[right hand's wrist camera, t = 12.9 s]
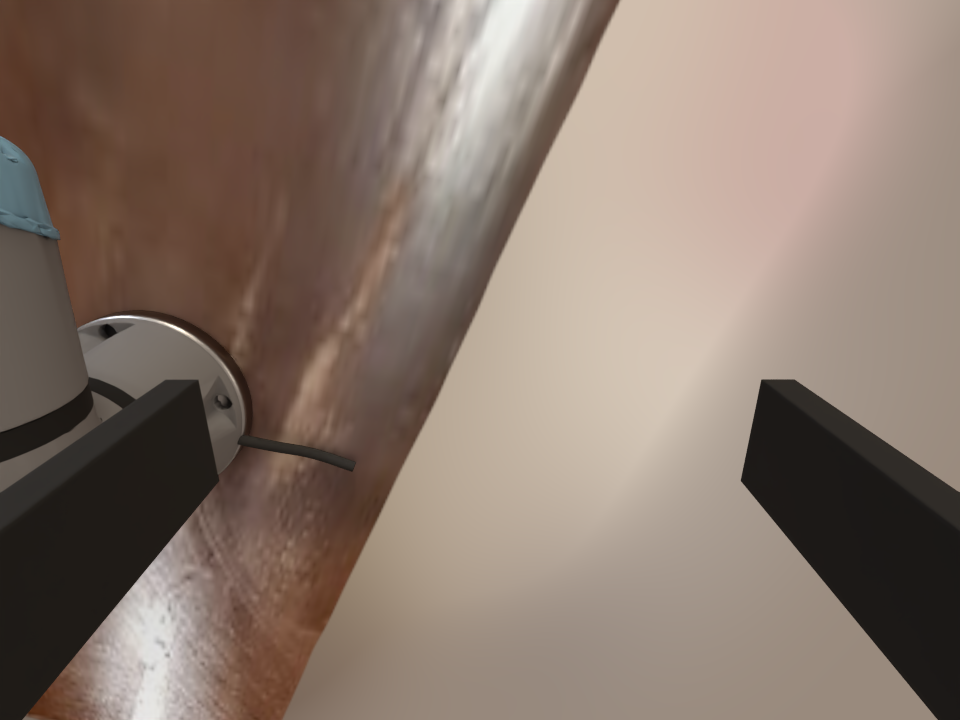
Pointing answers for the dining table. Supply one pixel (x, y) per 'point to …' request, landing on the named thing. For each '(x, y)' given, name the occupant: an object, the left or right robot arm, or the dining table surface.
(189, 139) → the dining table surface
